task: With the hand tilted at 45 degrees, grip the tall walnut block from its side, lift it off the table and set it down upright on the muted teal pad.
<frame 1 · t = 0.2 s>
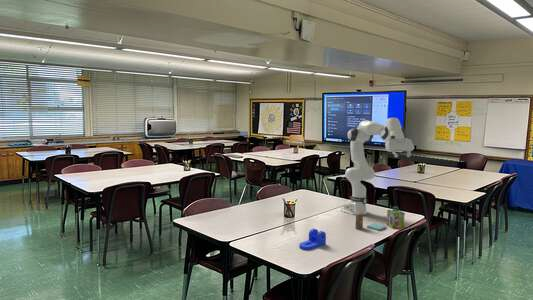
hand: (402, 156, 240), 54 cm above the table, tool tilted 30°, fingers open, 8 cm apart
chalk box: (395, 226, 262), on the table
teal pad: (376, 227, 257), on the table
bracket: (311, 246, 220), on the table
walnut block: (359, 228, 257), on the table
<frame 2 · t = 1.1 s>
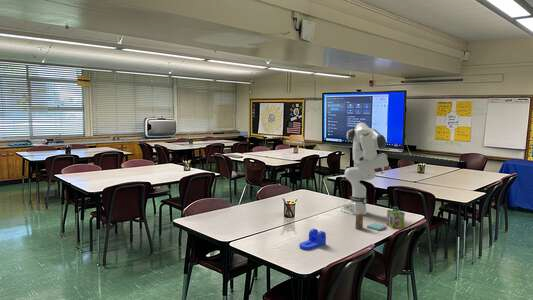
hand: (375, 175, 242), 41 cm above the table, tool tilted 15°, fingers open, 8 cm apart
nothing on the table moved.
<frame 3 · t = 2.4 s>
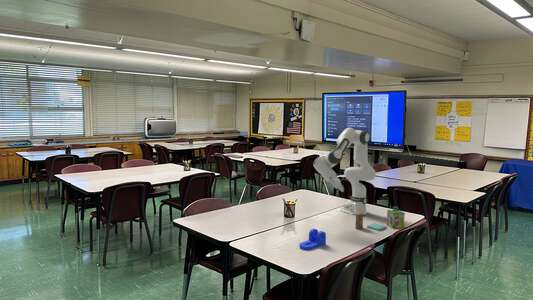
hand: (343, 190, 257), 28 cm above the table, tool tilted 45°, fingers open, 8 cm apart
nothing on the table moved.
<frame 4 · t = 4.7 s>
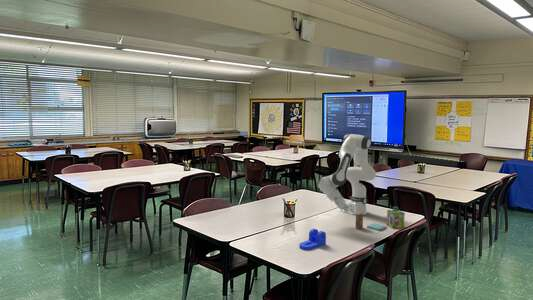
hand: (347, 210, 257), 13 cm above the table, tool tilted 45°, fingers open, 8 cm apart
nothing on the table moved.
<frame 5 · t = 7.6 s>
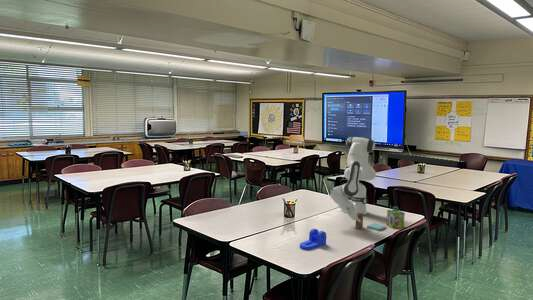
hand: (360, 220, 256), 6 cm above the table, tool tilted 45°, fingers closed on walnut block, 5 cm apart
walnut block: (359, 228, 257), on the table, touching gripper
everything else where it was.
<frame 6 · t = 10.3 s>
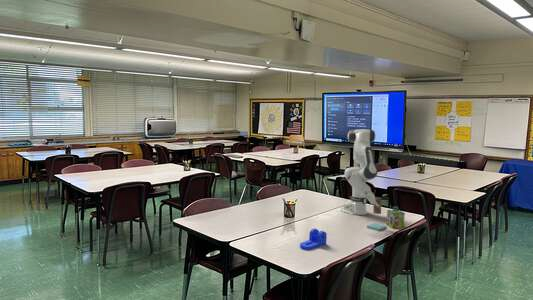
hand: (378, 204, 256), 17 cm above the table, tool tilted 45°, fingers closed on walnut block, 5 cm apart
walnut block: (377, 212, 256), point 11 cm above the table, touching gripper
everything else where it was.
when the fingers open (9 cm above the table, at t = 13.0 s): walnut block drops 1 cm, resting on teal pad.
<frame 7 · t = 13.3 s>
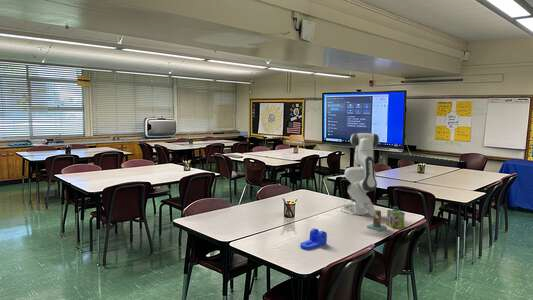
hand: (377, 216, 256), 9 cm above the table, tool tilted 45°, fingers open, 8 cm apart
walnut block: (376, 225, 257), point 1 cm above the table, touching teal pad
everything else where it was.
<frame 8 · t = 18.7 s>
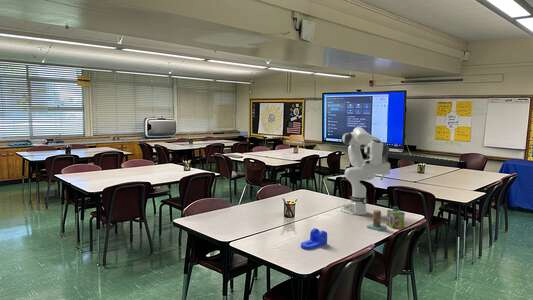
hand: (375, 179, 264), 34 cm above the table, tool pointing down, fingers open, 8 cm apart
at the end: walnut block 0.1 cm off-centre on the teal pad, point 1.5 cm above the teal pad's base; walnut block tilted 0°; the gripper is holding nothing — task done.
